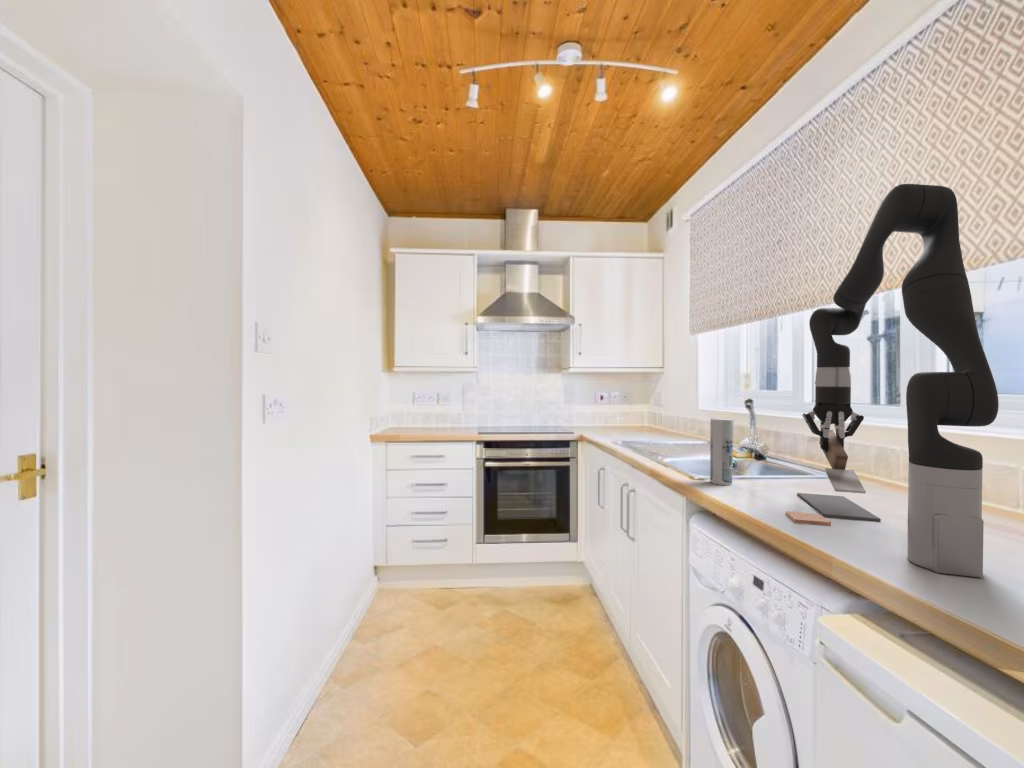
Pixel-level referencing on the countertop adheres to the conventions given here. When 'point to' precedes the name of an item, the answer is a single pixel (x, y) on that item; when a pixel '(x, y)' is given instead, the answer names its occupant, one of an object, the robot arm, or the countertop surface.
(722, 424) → the spray can
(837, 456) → the turner
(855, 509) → the mat
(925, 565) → the robot arm
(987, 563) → the countertop surface
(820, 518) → the tile
